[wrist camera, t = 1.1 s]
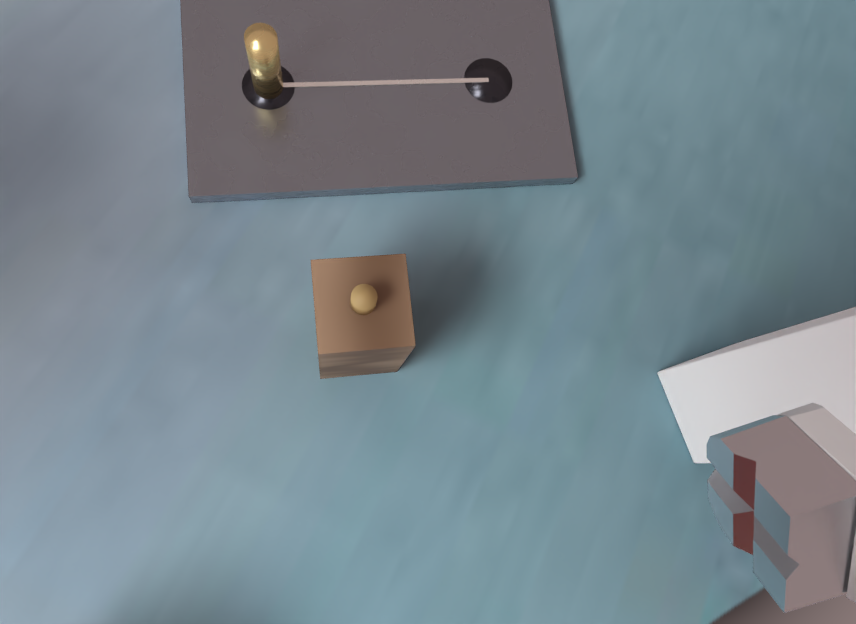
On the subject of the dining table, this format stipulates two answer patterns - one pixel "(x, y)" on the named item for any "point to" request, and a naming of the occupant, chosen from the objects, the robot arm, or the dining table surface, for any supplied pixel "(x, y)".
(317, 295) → the walnut peg
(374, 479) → the dining table surface
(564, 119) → the bolt plate
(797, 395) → the milk
